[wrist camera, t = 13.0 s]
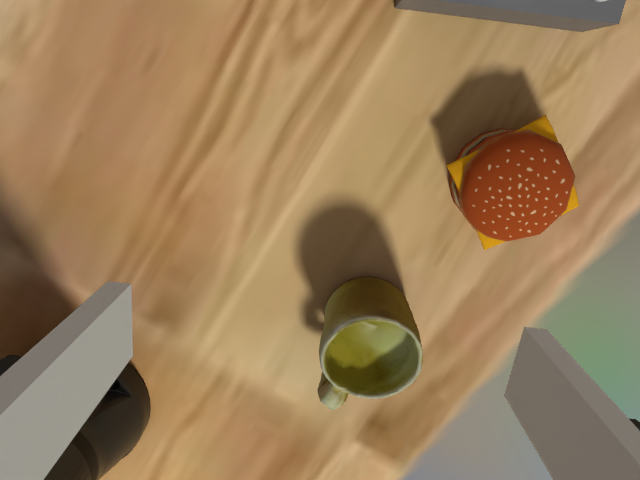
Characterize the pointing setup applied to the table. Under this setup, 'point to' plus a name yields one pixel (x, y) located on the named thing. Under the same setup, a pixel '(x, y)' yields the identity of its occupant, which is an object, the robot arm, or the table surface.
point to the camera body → (528, 11)
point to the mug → (367, 343)
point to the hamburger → (513, 182)
